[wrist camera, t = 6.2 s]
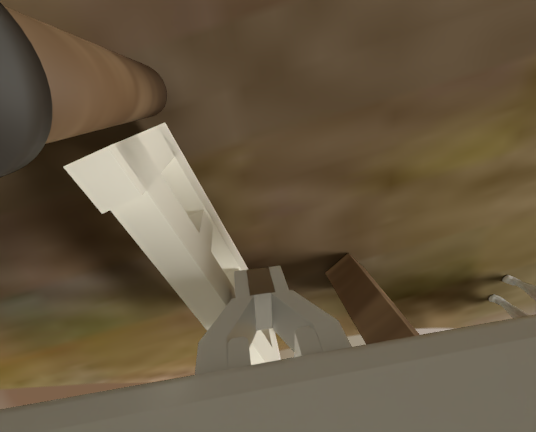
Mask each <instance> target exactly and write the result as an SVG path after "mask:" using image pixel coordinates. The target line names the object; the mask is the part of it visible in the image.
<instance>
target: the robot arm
mask: <svg viewBox="0 0 536 432" xmlns="http://www.w3.org/2000/svg"><path fill="white" fill-rule="evenodd" d="M234 279H235V296H236V298H232V299H231V301H230V302H229V303H228V305H227V306H226V307H225V309H224V310H223V311H222V312H221V314H220V315H219V316H218V318H217V319H216V320H215V322H214V323H213V324H212V326H211V327H210V328H209V330H208V331H207V332H206V333H205V335H204V336H203V337H202V339H201V340H200V341H199V343H198V352H197V361H196V370H195V375H192V376H186V377H180V378H175V379H169V380H164V381H158V382H152V383H147V384H141V385H135V386H130V387H124V388H118V389H113V390H107V391H102V392H96V393H90V394H85V395H79V396H74V397H68V398H63V399H56V400H51V401H45V402H40V403H34V404H28V405H23V406H17V407H11V408H6V409H0V432H536V315H530V316H524V317H519V318H513V319H507V320H502V321H496V322H490V323H485V324H479V325H474V326H468V327H462V328H457V329H451V330H445V331H440V332H434V333H428V334H423V335H417V336H412V337H406V338H400V339H395V340H389V341H384V342H378V343H372V344H367V345H361V346H356V347H352V346H351V344H350V343H349V340H348V338H347V337H346V335H345V333H344V331H343V329H342V327H341V325H340V323H339V321H338V320H337V319H335V318H334V317H332V316H331V315H329V314H328V313H326V312H325V311H323V310H322V309H320V308H319V307H317V306H316V305H314V304H313V303H311V302H310V301H308V300H307V299H305V298H304V297H302V296H301V295H299V294H298V293H296V292H295V291H293V290H289V289H288V286H287V283H286V280H285V277H284V274H283V271H282V269H281V266H280V265H279V266H272V267H268V268H258V269H248V270H240V271H234ZM270 328H273V330H274V331H275V332H276V333H277V334H278V335H279V336H280V337H281V338H282V339H283V341H284V342H285V343H286V344H287V345H288V346H289V347H290V348H291V349H292V350H293V351H294V357H293V358H287V359H282V360H276V361H271V362H265V363H259V364H254V365H251V360H250V351H249V348H250V346H251V343H252V341H253V339H254V337H255V335H256V332H257V331H258V330H263V329H270Z"/></svg>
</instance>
